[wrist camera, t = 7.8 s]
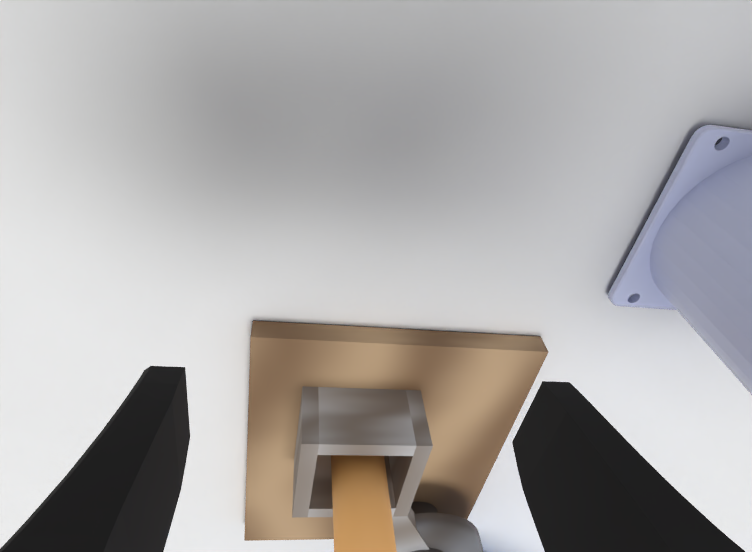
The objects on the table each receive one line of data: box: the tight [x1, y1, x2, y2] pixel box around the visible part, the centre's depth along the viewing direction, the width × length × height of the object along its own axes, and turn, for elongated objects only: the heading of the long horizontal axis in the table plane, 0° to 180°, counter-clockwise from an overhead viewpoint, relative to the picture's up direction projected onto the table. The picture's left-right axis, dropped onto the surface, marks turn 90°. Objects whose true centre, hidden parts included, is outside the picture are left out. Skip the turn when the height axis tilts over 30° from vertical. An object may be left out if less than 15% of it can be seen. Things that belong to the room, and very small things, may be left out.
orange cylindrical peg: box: [331, 455, 397, 552], centre depth 22 cm, size 2×2×7 cm
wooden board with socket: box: [245, 321, 548, 552], centre depth 25 cm, size 13×17×6 cm
